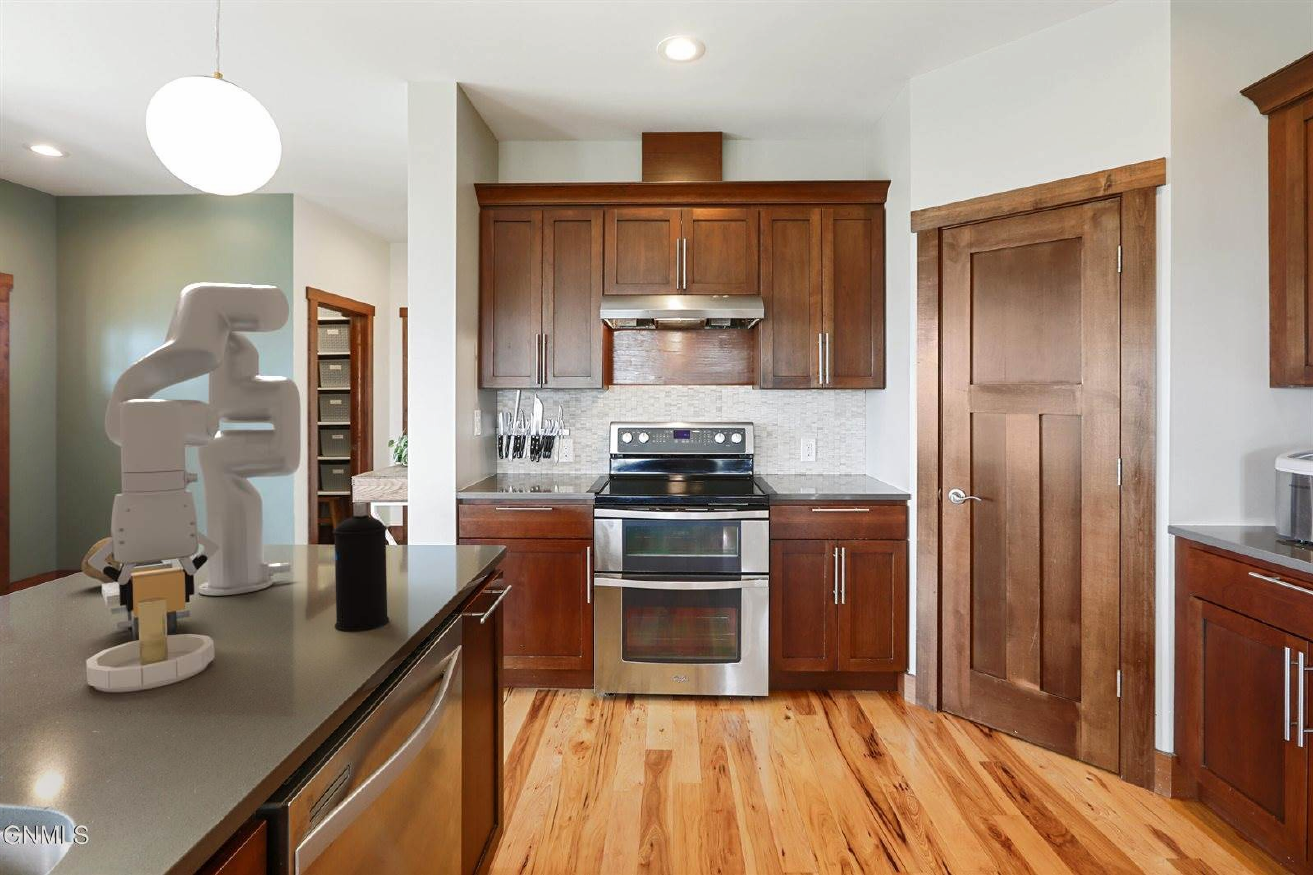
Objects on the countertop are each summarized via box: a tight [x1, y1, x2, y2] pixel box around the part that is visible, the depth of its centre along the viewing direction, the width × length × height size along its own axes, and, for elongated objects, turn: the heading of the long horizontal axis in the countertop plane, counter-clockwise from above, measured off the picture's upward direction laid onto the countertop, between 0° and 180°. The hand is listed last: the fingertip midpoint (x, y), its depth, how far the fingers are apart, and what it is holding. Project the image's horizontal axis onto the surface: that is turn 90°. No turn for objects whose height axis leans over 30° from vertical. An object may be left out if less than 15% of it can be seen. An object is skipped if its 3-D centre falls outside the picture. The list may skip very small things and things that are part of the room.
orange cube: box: [130, 566, 186, 618], centre depth 98 cm, size 6×5×6 cm
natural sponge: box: [81, 536, 120, 584], centre depth 135 cm, size 9×9×10 cm
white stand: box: [101, 559, 196, 641], centre depth 107 cm, size 11×16×10 cm
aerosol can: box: [332, 502, 390, 632], centre depth 110 cm, size 8×8×20 cm
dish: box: [85, 633, 215, 693], centre depth 90 cm, size 13×13×3 cm
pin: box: [138, 597, 168, 666], centre depth 90 cm, size 3×3×9 cm
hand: (158, 604), depth 98 cm, fingers closed on orange cube, 6 cm apart
